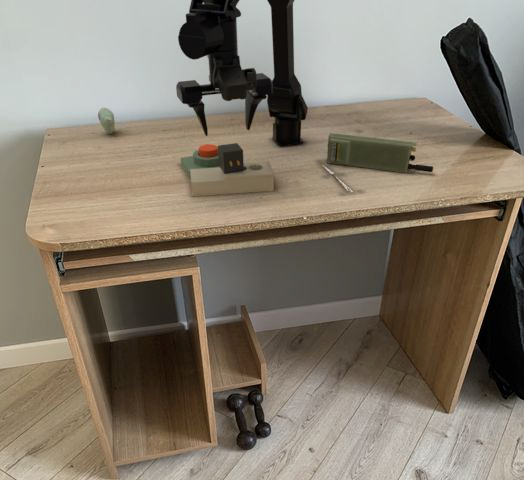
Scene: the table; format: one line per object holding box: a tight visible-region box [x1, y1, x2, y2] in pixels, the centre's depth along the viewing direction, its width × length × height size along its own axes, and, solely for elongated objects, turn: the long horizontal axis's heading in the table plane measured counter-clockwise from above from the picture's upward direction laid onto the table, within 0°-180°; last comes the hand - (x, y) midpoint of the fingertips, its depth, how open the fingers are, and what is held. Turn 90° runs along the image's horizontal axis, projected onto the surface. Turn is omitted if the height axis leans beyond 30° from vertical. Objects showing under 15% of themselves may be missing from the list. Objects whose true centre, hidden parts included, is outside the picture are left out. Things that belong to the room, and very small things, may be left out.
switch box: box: [180, 149, 219, 180], centre depth 121 cm, size 12×9×4 cm
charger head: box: [217, 142, 244, 174], centre depth 109 cm, size 4×6×5 cm
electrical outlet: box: [190, 160, 275, 197], centre depth 113 cm, size 7×4×18 cm
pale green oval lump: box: [97, 107, 116, 135], centre depth 138 cm, size 8×4×7 cm, turn 14°
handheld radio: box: [326, 132, 434, 174], centre depth 119 cm, size 7×3×25 cm
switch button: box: [198, 143, 218, 158], centre depth 119 cm, size 4×4×2 cm
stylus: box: [323, 165, 353, 194], centre depth 117 cm, size 4×1×19 cm
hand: (227, 132), depth 107 cm, fingers open, 9 cm apart
